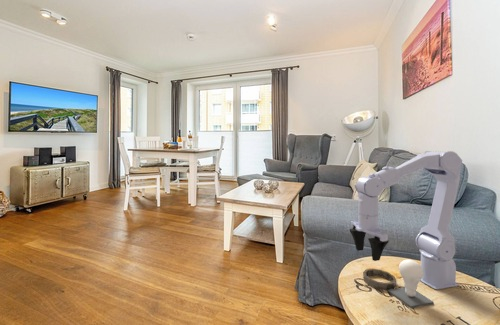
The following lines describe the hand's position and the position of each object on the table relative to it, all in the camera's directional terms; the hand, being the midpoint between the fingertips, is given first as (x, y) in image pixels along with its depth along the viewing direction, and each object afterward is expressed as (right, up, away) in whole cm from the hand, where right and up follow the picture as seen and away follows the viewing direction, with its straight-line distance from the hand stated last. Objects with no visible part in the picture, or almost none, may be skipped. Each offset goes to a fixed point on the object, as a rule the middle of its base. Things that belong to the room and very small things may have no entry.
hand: (367, 254), depth 77 cm
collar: (+5, -10, +3) cm, 12 cm away
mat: (+10, -11, -6) cm, 16 cm away
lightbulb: (+10, -10, -6) cm, 15 cm away
